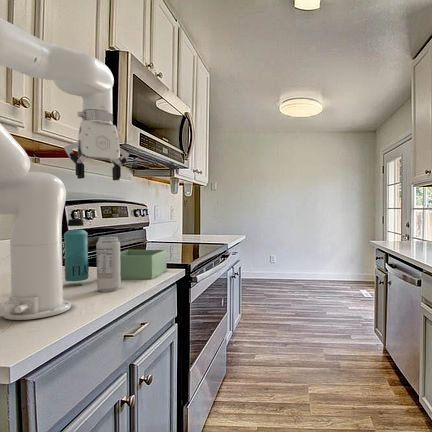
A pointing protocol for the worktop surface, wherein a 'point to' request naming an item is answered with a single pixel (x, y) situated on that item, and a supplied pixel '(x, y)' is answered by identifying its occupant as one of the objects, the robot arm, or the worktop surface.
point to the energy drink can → (108, 264)
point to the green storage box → (142, 263)
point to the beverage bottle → (76, 252)
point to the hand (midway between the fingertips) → (99, 179)
